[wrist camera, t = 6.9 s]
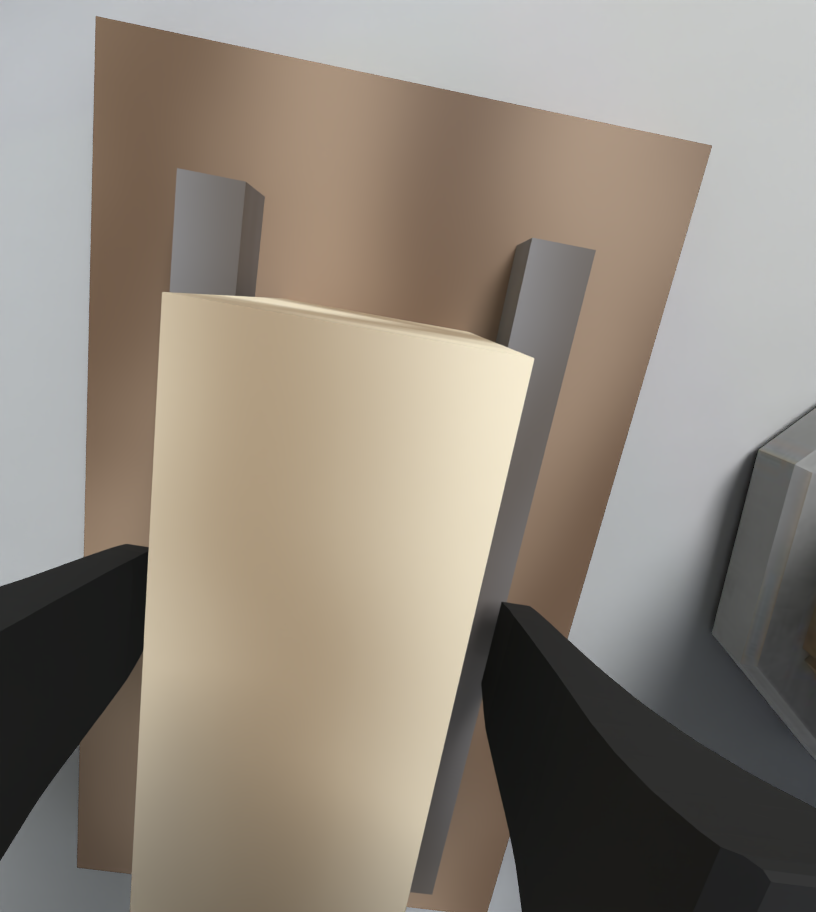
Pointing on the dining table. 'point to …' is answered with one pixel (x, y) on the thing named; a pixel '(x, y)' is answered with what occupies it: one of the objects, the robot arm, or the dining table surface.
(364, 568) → the pale wooden bar
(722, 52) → the dining table surface
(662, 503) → the dining table surface
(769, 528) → the tankard
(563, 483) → the walnut ledge
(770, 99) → the dining table surface
